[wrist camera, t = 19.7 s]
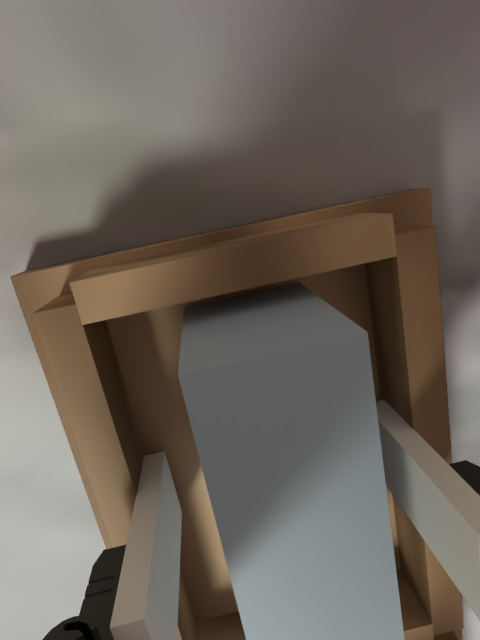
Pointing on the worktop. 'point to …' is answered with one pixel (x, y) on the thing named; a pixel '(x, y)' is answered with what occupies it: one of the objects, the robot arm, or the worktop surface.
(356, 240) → the tray
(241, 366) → the bar
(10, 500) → the worktop surface
